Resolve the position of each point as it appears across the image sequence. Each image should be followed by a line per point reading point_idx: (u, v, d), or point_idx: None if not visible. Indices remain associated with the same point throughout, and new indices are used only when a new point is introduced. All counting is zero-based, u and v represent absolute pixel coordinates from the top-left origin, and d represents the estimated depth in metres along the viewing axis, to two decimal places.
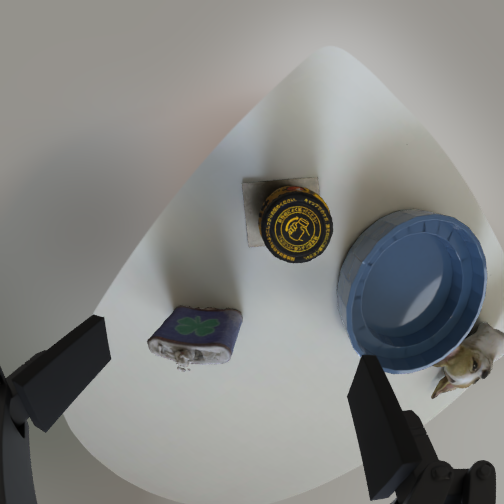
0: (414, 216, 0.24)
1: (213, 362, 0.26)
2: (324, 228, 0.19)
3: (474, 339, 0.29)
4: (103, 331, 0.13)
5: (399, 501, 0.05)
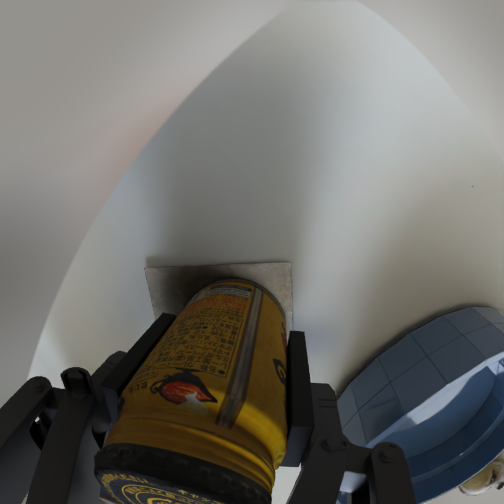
0: (481, 357, 0.09)
1: None
2: None
3: None
4: None
5: None
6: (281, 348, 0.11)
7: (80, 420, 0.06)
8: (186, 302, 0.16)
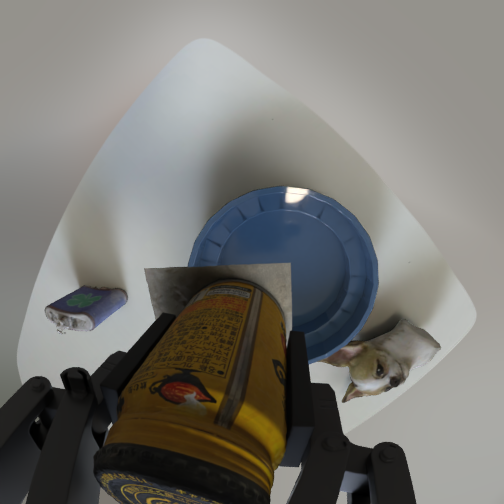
0: (252, 191, 0.25)
1: (83, 329, 0.28)
2: None
3: (385, 338, 0.30)
4: None
5: None
6: (280, 349, 0.11)
7: (80, 420, 0.06)
8: (186, 302, 0.16)
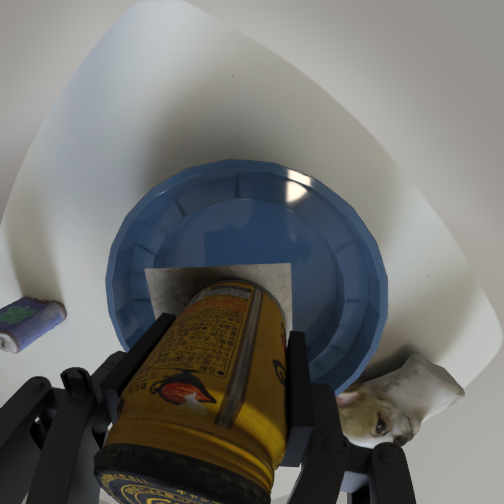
0: None
1: (10, 351, 0.18)
2: None
3: (390, 381, 0.20)
4: None
5: None
6: (281, 349, 0.11)
7: (80, 420, 0.06)
8: (186, 303, 0.16)
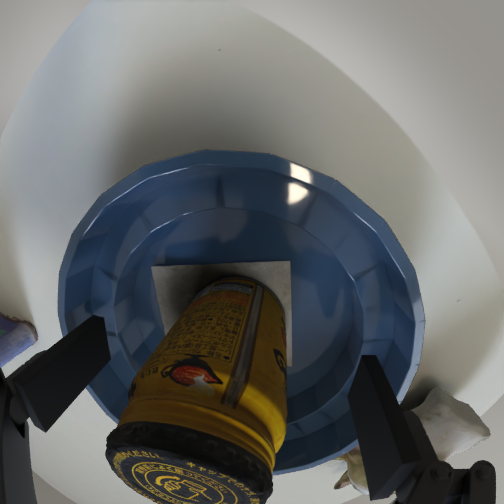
0: None
1: None
2: (245, 500, 0.05)
3: None
4: (103, 331, 0.13)
5: (399, 500, 0.05)
6: (281, 340, 0.12)
7: None
8: (191, 299, 0.17)
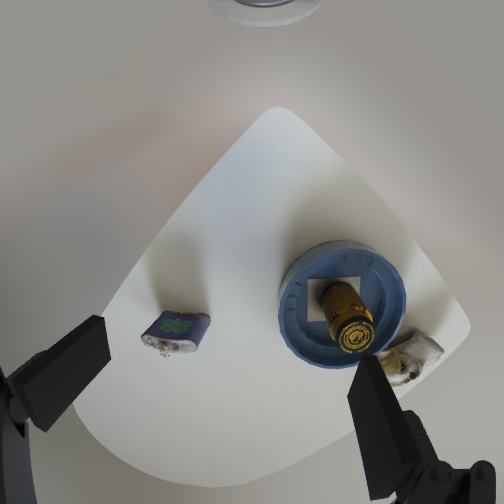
0: (330, 250, 0.36)
1: (185, 351, 0.38)
2: (370, 336, 0.31)
3: (405, 345, 0.40)
4: (103, 331, 0.13)
5: (398, 500, 0.05)
6: None
7: None
8: (322, 292, 0.42)
